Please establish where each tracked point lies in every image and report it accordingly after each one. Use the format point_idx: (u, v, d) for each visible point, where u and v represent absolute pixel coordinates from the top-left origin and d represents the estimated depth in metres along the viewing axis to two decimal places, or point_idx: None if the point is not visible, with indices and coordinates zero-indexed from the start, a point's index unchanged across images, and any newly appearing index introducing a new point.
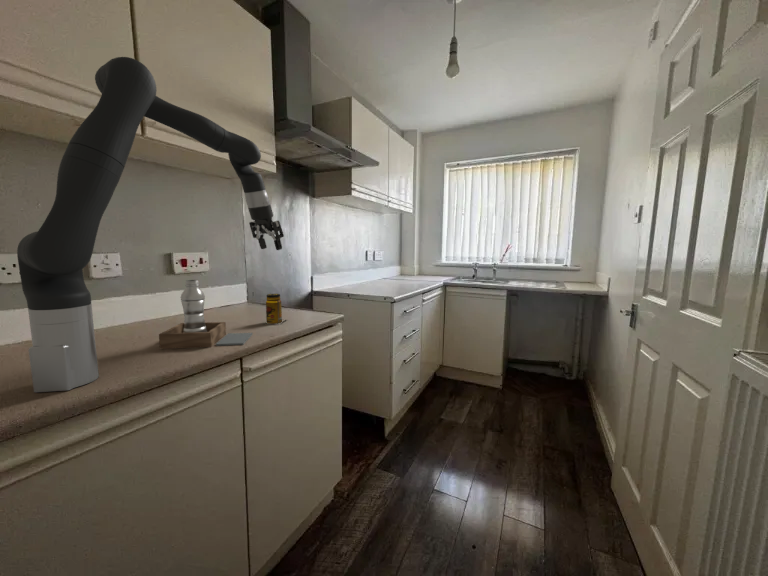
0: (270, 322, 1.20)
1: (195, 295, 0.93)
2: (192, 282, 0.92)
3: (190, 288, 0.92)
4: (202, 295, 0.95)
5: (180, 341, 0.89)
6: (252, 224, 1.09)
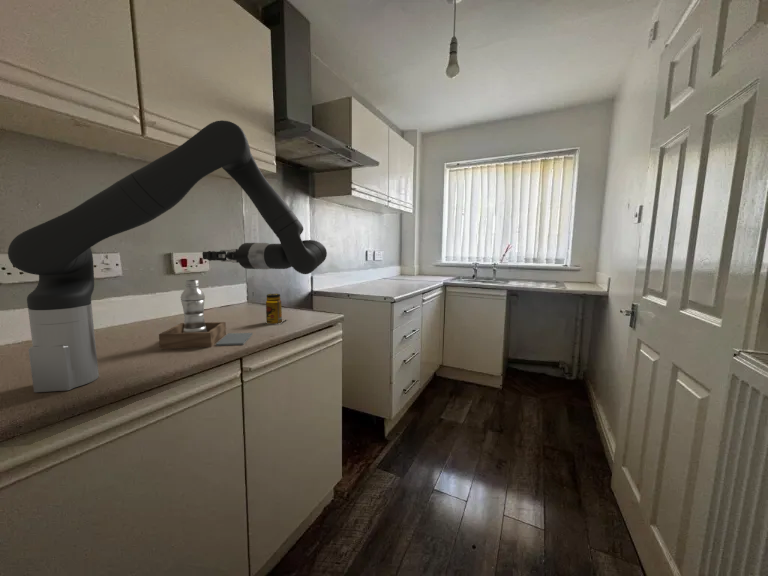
0: (270, 322, 1.20)
1: (195, 295, 0.93)
2: (192, 282, 0.92)
3: (190, 288, 0.92)
4: (202, 295, 0.95)
5: (180, 341, 0.89)
6: None
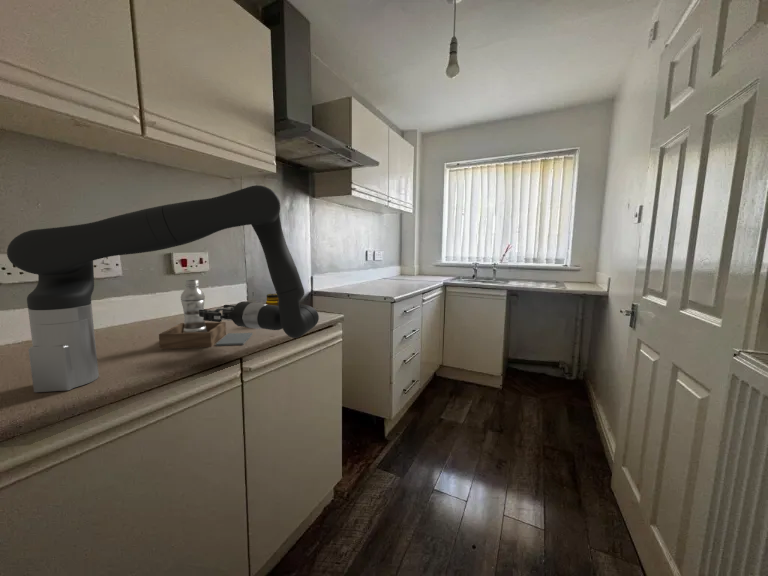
0: None
1: (195, 295, 0.93)
2: (192, 282, 0.92)
3: (190, 288, 0.92)
4: (202, 295, 0.95)
5: (180, 341, 0.89)
6: None
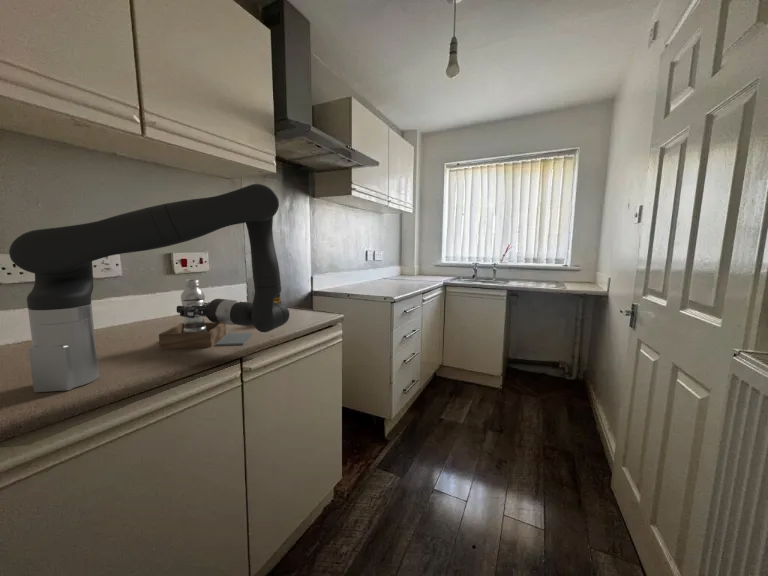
0: None
1: (196, 295, 0.93)
2: (192, 282, 0.93)
3: (190, 288, 0.93)
4: (202, 295, 0.95)
5: (180, 341, 0.89)
6: None
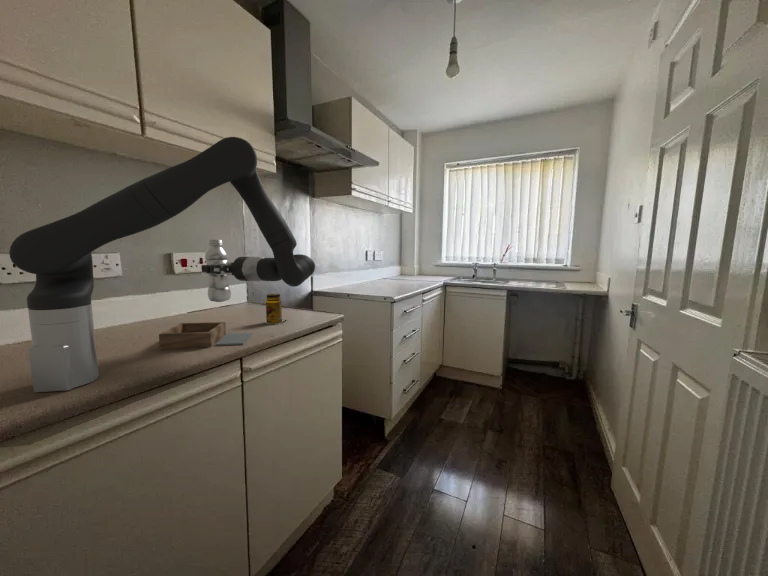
0: (270, 322, 1.20)
1: (220, 254, 0.93)
2: (216, 241, 0.93)
3: (214, 247, 0.93)
4: (226, 255, 0.95)
5: (180, 341, 0.89)
6: None
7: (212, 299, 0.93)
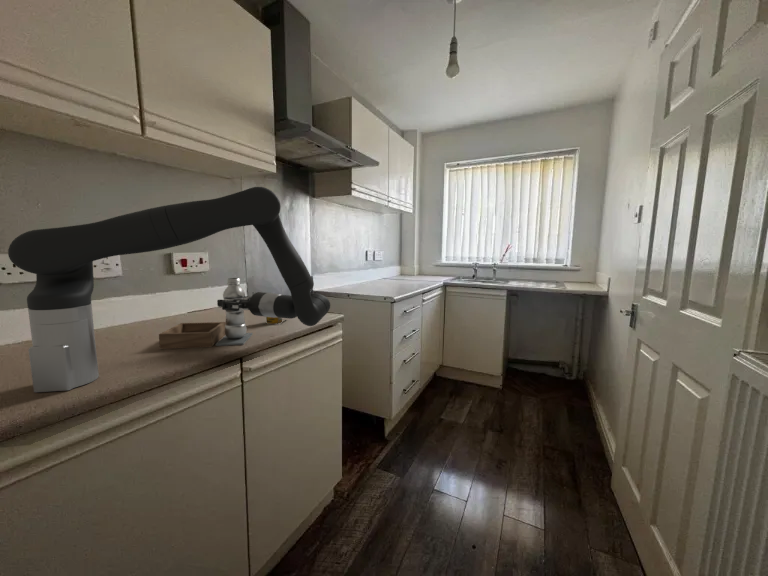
0: (270, 322, 1.20)
1: (237, 293, 0.95)
2: (234, 280, 0.94)
3: (232, 286, 0.94)
4: (243, 293, 0.97)
5: (180, 341, 0.89)
6: None
7: (229, 336, 0.96)
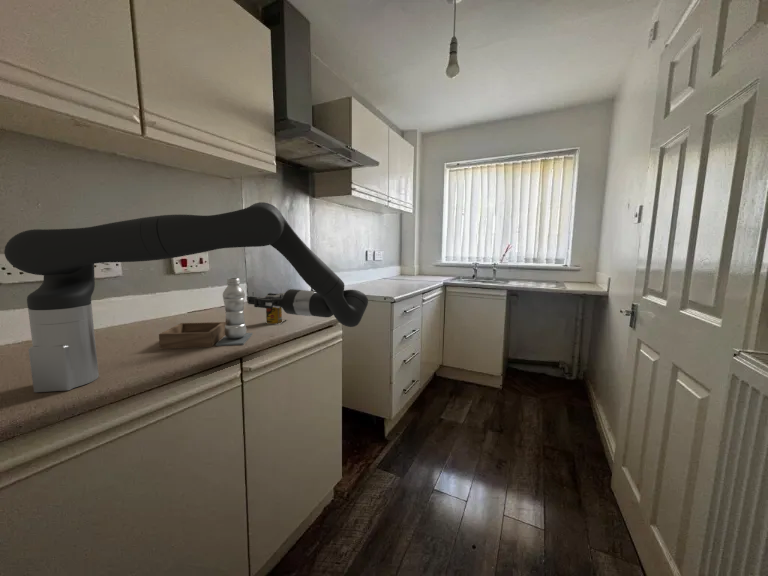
0: (270, 322, 1.20)
1: (237, 293, 0.95)
2: (234, 280, 0.95)
3: (232, 286, 0.95)
4: (243, 293, 0.97)
5: (180, 341, 0.89)
6: None
7: (229, 336, 0.96)
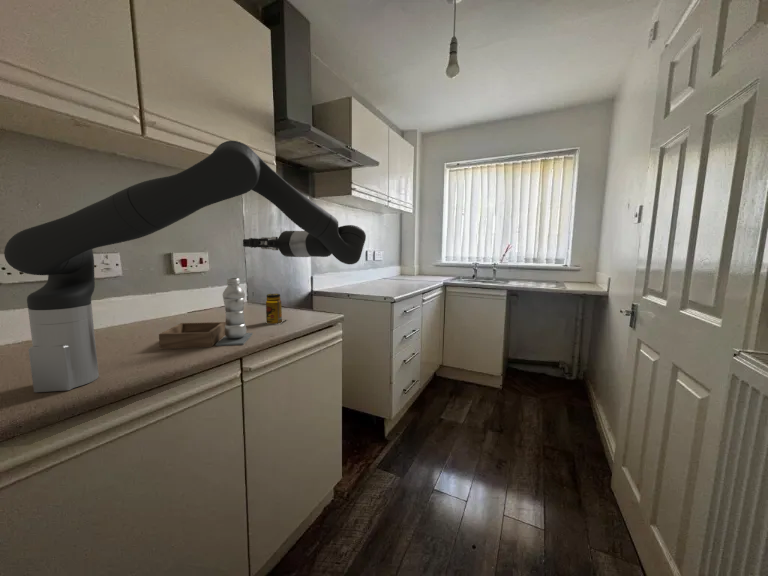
0: (270, 322, 1.20)
1: (237, 293, 0.95)
2: (234, 280, 0.95)
3: (232, 286, 0.95)
4: (243, 293, 0.97)
5: (180, 341, 0.89)
6: None
7: (229, 336, 0.96)
